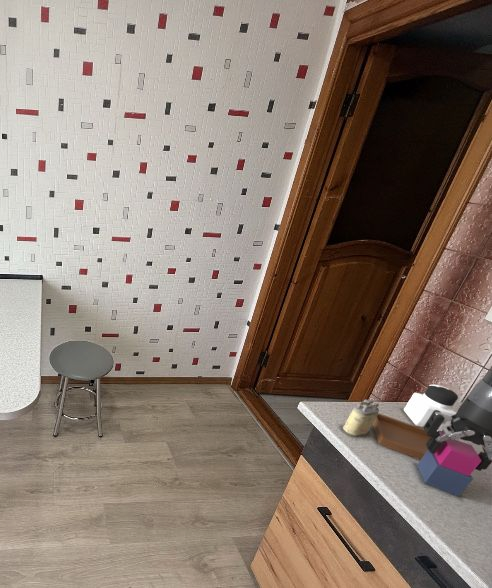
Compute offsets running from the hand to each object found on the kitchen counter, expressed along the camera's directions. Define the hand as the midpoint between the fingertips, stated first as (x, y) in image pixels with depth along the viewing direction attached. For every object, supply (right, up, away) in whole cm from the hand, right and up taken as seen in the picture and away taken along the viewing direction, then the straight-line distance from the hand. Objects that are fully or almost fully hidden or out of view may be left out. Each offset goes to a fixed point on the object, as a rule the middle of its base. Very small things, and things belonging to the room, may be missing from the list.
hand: (452, 458), depth 77 cm
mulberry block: (0, -1, 0) cm, 1 cm away
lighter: (-9, 0, +16) cm, 18 cm away
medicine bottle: (+16, 0, +22) cm, 27 cm away
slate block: (-1, -7, +3) cm, 7 cm away
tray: (+3, -2, +14) cm, 14 cm away
